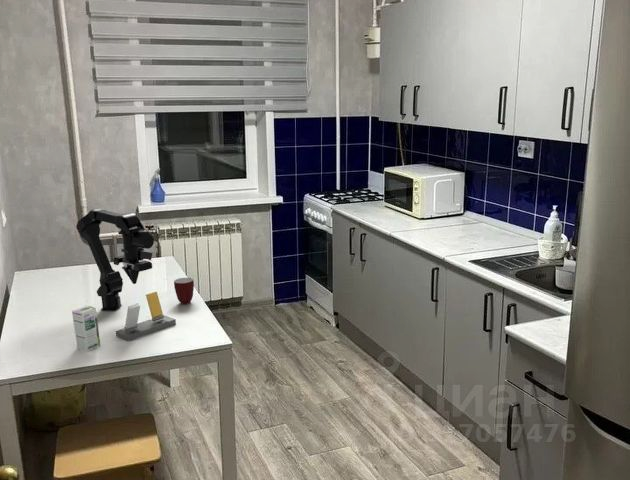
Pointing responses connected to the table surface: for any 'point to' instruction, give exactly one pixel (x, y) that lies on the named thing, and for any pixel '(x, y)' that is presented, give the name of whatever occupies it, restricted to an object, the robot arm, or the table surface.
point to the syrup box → (86, 328)
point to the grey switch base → (145, 328)
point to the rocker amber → (154, 306)
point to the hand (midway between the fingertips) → (134, 283)
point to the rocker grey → (132, 317)
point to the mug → (184, 289)
